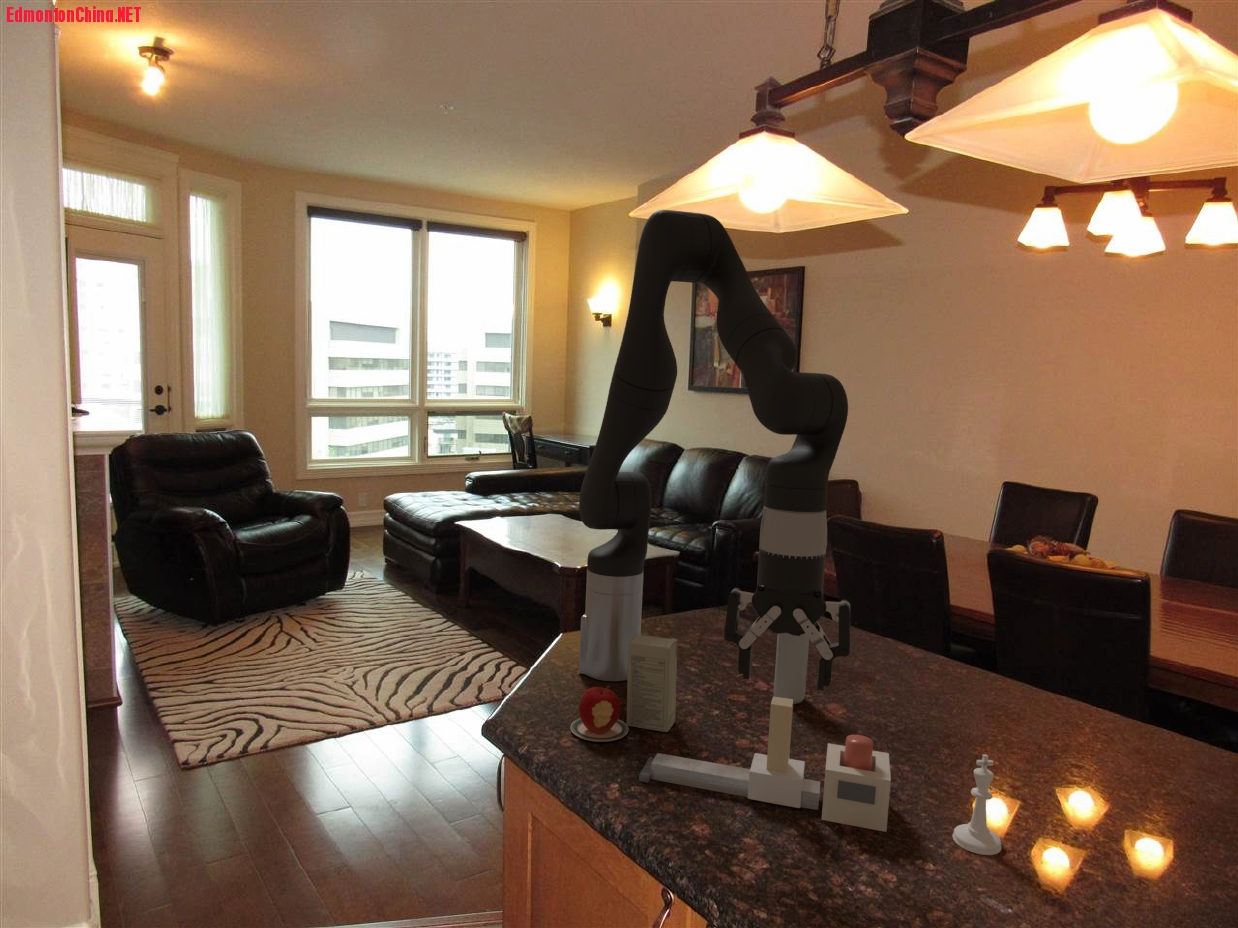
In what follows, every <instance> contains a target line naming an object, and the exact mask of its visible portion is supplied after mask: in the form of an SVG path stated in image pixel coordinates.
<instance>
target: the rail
mask: <svg viewBox="0 0 1238 928" xmlns="http://www.w3.org/2000/svg"><path fill="white" fill-rule="evenodd" d="M749 773H750V768H745V767H744V768H743V767H739V766H734V765H728V764H722V763H715V762H710V761H706V760H699V759H694V758H687V757H683V756H676V755H671V754H665V753H660V752H659V753H658V752H657V753H656V754H655V756H654V757H652V756H649V757H648V759H647V760H646V762H645V764H644V766H643V767H642V769H641V770H640V773H639V774H638V776H639V777H638V782H641V783H650V780H653V781H659V782H663V783H664V782H665V783H670V784H676V785H681V786H686V787H692V788H698V789H703V790H706V791H707V790H708V791H713V792H719V793H724V794H729V795H735V796H740V797H746V798H748V787H749ZM820 791H821V781H818V780H812V779H808V778H807V779H806V778H804V779H803V783H802V790H801V804H800V808H803V809H809V810H814V811H818V810H819V802H820V794H821V792H820Z"/></svg>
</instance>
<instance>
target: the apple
mask: <svg viewBox="0 0 1238 928" xmlns="http://www.w3.org/2000/svg"><path fill="white" fill-rule="evenodd" d="M609 688H612V686H610V685H608V686H606V687H601V686H592V687H590V688H588V689H586V690H585V691H584V692H583V694H582V695H581V697H580V700H579V704H578V714H579V718H578V719H575V720H574V721H573V722H572V723H571V725H570V731H571V733H572V734H573V735H575V736H576V737H578V738H580V739H581V740H582V739H583V740H586V741H589V742H590V741H591V742H600V743H601V742H604V743H605V742H612V741H616V740H619V739H622V738H624V737H625V736H626V735H627V734H628V732H629V726H627V722H624V721H623V720H621V719H619V718H620V715H621V714H620V713H621V703H620V700H619V697H618V695H617V694H616V693H615V692H614V691H613V690H611V689H609Z"/></svg>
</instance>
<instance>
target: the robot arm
mask: <svg viewBox="0 0 1238 928" xmlns="http://www.w3.org/2000/svg"><path fill="white" fill-rule="evenodd" d="M636 256H637V257H636V259H635V260H636V261H635V268H634V274H633V281H632V287H631V294H630V301H629V306H628V312H627V317H626V322H625V326H624V331H623V334H622V339H621V342H620V347H619V351H618V354H617V358H616V361H615V364H614V368H613V369H614V370H613V372H612V376H611V381H610V386H609V388H608V389H609V390H608V394H607V399H606V403H605V404H606V405H605V408H604V412H603V416H602V421H601V425H600V430H599V433H598V435H597V440H596V443H595V445H594V449H593V452H592V455H591V458H590V460H589V463H588V465H587V467H586V468H587V469H586V471H585V474H584V478H583V480H582V484H581V488H580V493H579V499H578V510H579V511H578V512H579V516H580V519H581V522H582V523H583V524H584V526H585V527H587V528H588V529H592V530H600V531H601V530H603V531H604V530H618V531H617V532H616V534H615V535H614V536H613V537H612V538H611V539H610V540H608V541H607V542H605V543H602V544H601V545H599V546H596V547H594V548H593V549H591V550H590V551H589V552H588V554H587V561H586V562H587V563H586V585H585V586H586V591H585V612H584V614H583V615H581V617H580V635H579V655H578V656H579V659H578V674H583V675H585V676H588V677H589V678H592V679H595V680H598V681H604V682H624V681H627V676H628V642H629V641H630V640H632V639H633V638H634V637H635V636H636V635H637V634H639V635H642V634H641V633H642V631H641V630H642V612H643V611H642V608H643V607H642V606H643V590H644V588H643V587H644V570H645V569H644V568H645V561H646V557H647V554H648V544H649V534H650V533H649V532H650V525H651V515H652V489H651V484H650V482H649V479H648V478H647V477H646V476H645V474H643V473H641V472H639V471H638V472H637V471H620V470H621V468H622V465H623V464H624V462H625V460H626V459H627V457H628V456H629V455H630V453H632V451H633V450H634V449H635V448H636V447H637V446H638V445H639V444H640V443H642V441H643V440H644V439H645V438H646V437H647V436H648V435H649V434H650V433H651V432H652V431H653V430H654V429H655V428H656V427H657V426H658V425H659V423H660V422H661V421H662V420H663V418H664V417H665V415H666V414H667V412H668V408H669V406H670V403H671V399H672V396H673V393H674V389H675V385H676V383H677V382H676V381H677V377H678V362H677V359H676V355H675V351H674V348H673V345H672V341H671V339H670V336H669V334H668V331H667V328H666V327H667V326H666V323H665V306H666V300H667V296H668V292H669V288H670V284H671V282H677V283H679V282H680V283H691V284H692V283H693V284H695V283H701V284H703V285H704V286H706V287H707V288H708V289H709V290H710V291H711V292H712V293H713V294H714V296H715V297H716V299H717V301H718V304H717V310H716V319H715V321H716V330H717V334H718V337H719V340H720V342H721V345H722V346H723V348H724V350H725V351H726V352H727V354H728V356H729V357H730V358H731V359H732V361H733V363H734V364H735V365H736V367H737V368H738V369H739V371H740V372H741V373H742V375H743V380H744V384H745V387H746V390H747V393H748V397H749V401H750V404H751V408H752V411H753V413H754V416H755V418H756V419H757V420H758V421H759V423H760V424H761V425H762V426H763V427H764V428H765V429H767V430H768V431H770V432H772V433H773V434H776V435H777V434H778V435H783V436H784V435H786V436H789V435H790V436H791V435H793V436H795V439H794V442H793V444H792V446H791V448H790V450H789V451H788V452H786V453H783V454H780V455H777V456H775V457H773V458H772V459H770V460H769V461H768V463H767V466H766V470H765V471H766V472H765V473H766V474H765V483H764V485H765V486H764V501H763V502H764V503H763V505H764V506H763V512H762V515H761V516H762V517H761V521H760V527H759V528H760V531H759V547H758V560H757V561H758V562H757V563H758V564H757V579H756V582H757V583H756V589H755V591H754V592H750V591H749V592H748V591H742V590H741V588H739V587H734V588H733V589H732V590H731V592H730V593H729V594H728V598H727V599H728V600H727V608H726V617H725V626H724V633H723V637H724V638H723V639H724V640H725V641H726V642H729V643H730V642H732V643H733V644H736V646H737V647H738V663H737V670H738V674H740V675H743V676H742V679H743V680H747V681H750V679H751V676H752V668H753V651H754V650H753V649H754V645H753V643H754V642H755V641H756V639H757V638H758V639H759V637H760V636H761V635H762V634H763V633H764V632H765V631H766V630H767V629H768V630H770V631H771V632H772V634H777V635H778V634H780V633H788V634H791V635H794V636H800V635H802V634H805V633H806V634H807V636H808V637H809V641H810V642H811V643H812V645H814V647H815V648H816V649H817V651H818V652H819V653H820V654H819V660H818V661H819V663H818V664H819V665H818V675H817V676H818V680H817V690H818V691H824V690H825V689H824V688H825V687H829V686H830V684H831V682H832V680H831V679H832V671H833V670H832V669H833V661H834V659H835V658H838V657H843V658H844V657H845V658H846V657H847V656H849V655H850V652H851V650H850V649H851V603H850V601H849V600H847V599H841V600H840V601H827V600H826V599H825V596H824V585H825V582H824V581H825V569H826V554H827V547H828V523H827V521H828V520H827V504H828V490H829V489H828V488H829V476H830V472H831V470H832V466H833V464H834V462H835V459H836V456H837V453H838V449H839V447H840V443H841V440H842V438H843V434H844V431H845V429H846V426H847V421H848V415H849V401H848V395H847V392H846V389H845V388H844V386H843V384H842V383H841V381H840V380H839V379H838V378H837V377H835V376H833V375H831V374H827V373H821V372H801V371H800V372H798V371H797V372H796V371H793V369H794V368H795V366H796V364H797V362H798V356H799V355H798V349H797V346H796V345H795V343H794V341H793V339H792V338H791V336H790V335H789V333H788V332H787V330H785V329H784V327H783V326H782V325H781V323H780V322H779V320H778V319H776V317H775V316H774V314H773V313H772V312H771V311H770V309H769V308H768V307H767V305H766V304H765V303H764V301H763V300H762V298H761V296H760V295H759V293H758V291H757V289H756V288H755V286H754V284H753V282H752V280H751V278H750V275H749V273H748V271H747V269H746V267H745V265H744V263H743V260H742V258H741V257H740V255H739V253H738V251H737V249H736V247H735V245H734V242H733V240H732V239H731V237H730V234H729V233H728V231H727V229H726V228H725V226H724V225H723V224H722V222H720V220H719V219H717V218H716V217H715V216H712V215H710V214H706V213H700V212H692V211H683V210H671V209H657V210H656V211H654V212H653V213H652V214H651V215H650V216H649V217H648V219H646V222H645V224H644V227H643V229H642V231H641V235H640V238H639V243H638V249H637V254H636ZM749 603H751V604H752V606H753V608H754V610H755V612H756V613H757V614H758V617H757V618H756V619H755V621H754V622H753V623H752V625H750V626H749V627H748V629H747V630H746V631H745V632H743V631H741V630H739V629H738V628H739V620H740V611H744V610H745V609H746V607H747V605H748V604H749ZM826 612H829V614H830V615H831V618H832V621H834V622H835V623H836V622H837V623H838V642H834V643H831V641H830V639H829V637H828V636H827V635H826V634H825V631H824V630H823V628H822V626H821V625H820V623H819V622H818V621H819V620H820V619H821V618H822V617H823V616H824V615H825V613H826Z"/></svg>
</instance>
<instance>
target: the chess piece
mask: <svg viewBox="0 0 1238 928" xmlns="http://www.w3.org/2000/svg"><path fill="white" fill-rule="evenodd" d="M975 764H976V765H977V766H980V767H977V768H975V769H974V770H973V776H974V779H975V784H976V787H973V788H972V789H971V791H970V794H971V795H972V797H973V796H974V797H975V803H974V807H973V811H972V815H971V819H970V821H969V822H968V823H965V824H964V823H963V824H959V825H957V826H955V827H954V830H953V832H952V839H953V840H954V841H953V842H955V843H956V845H958V846H959V847H961V848H962V849H963V850H966V851H967V852H970V853H974V854H976V855H977V854H978V855H983V856H993V855H997V854H999V853H1000V852H1001V851H1002V848H1003V847H1002V840H1001V838H1000V837H999V836H998V835H997V834H996V832H994V831H993V830H991V829H990V828H989V827H988V826H987V825H988V824H987V800H991V799H992V798H993V793H992V792H991V791H990V790H988V789H989V787H990V785H991V783H992V781H993V779H994V776H995V775H994V773H993V772H992V770H990V769H988V766H990V767H991V766H994V761H993V760H992V759H989V755H988V754H985V753H984V754H982V756H981V759H976V762H975Z"/></svg>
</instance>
